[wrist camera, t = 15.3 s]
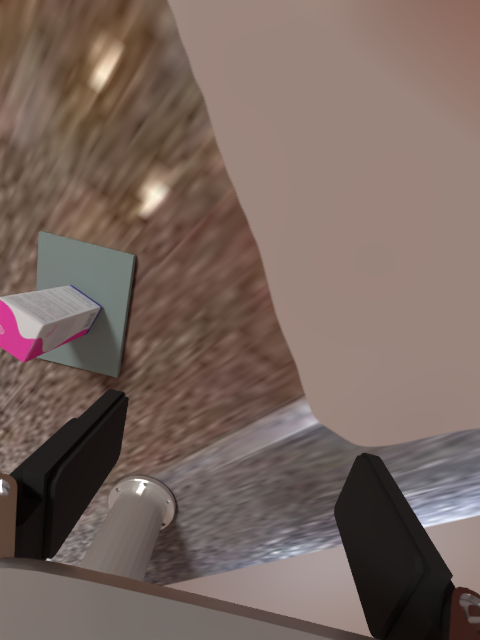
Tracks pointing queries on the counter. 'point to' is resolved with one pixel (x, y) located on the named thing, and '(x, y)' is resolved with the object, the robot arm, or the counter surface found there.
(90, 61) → the counter surface
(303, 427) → the counter surface
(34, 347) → the supplement box
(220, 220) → the counter surface
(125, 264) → the rubber mat
